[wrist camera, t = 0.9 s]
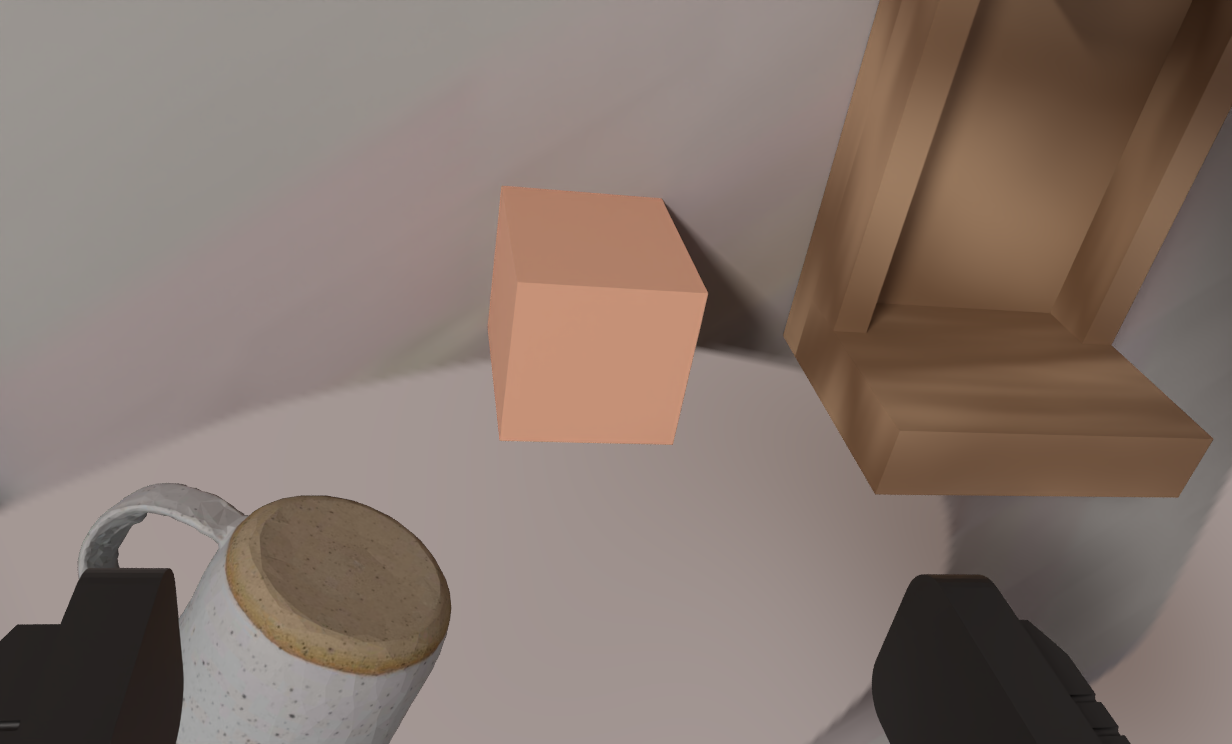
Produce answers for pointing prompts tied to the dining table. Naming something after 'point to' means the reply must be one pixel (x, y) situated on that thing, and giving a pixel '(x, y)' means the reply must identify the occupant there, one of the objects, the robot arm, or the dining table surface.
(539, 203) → the block
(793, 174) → the dining table surface
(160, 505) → the ceramic mug
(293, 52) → the dining table surface
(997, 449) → the wooden tray
